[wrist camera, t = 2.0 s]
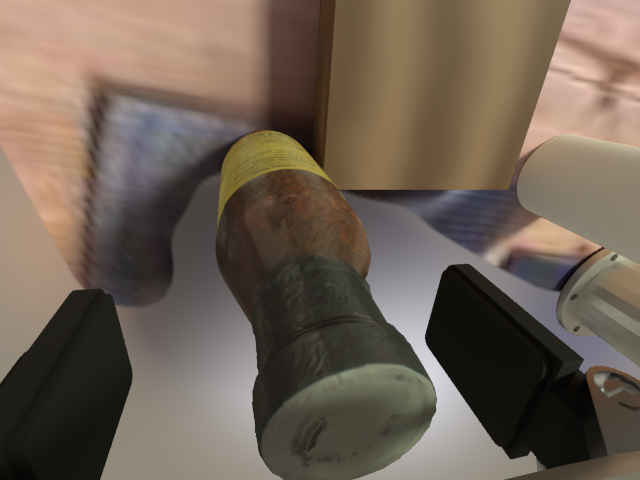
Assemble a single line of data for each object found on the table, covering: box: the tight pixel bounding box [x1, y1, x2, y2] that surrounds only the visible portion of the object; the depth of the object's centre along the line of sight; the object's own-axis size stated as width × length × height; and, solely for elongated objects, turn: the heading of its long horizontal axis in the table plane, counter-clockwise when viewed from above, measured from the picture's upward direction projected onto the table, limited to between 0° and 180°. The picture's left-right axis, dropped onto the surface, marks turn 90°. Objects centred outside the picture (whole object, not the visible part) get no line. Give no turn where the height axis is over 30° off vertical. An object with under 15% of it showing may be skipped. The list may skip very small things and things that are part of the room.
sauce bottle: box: [216, 129, 437, 480], centre depth 15 cm, size 7×6×20 cm
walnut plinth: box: [312, 0, 571, 190], centre depth 21 cm, size 14×14×4 cm
